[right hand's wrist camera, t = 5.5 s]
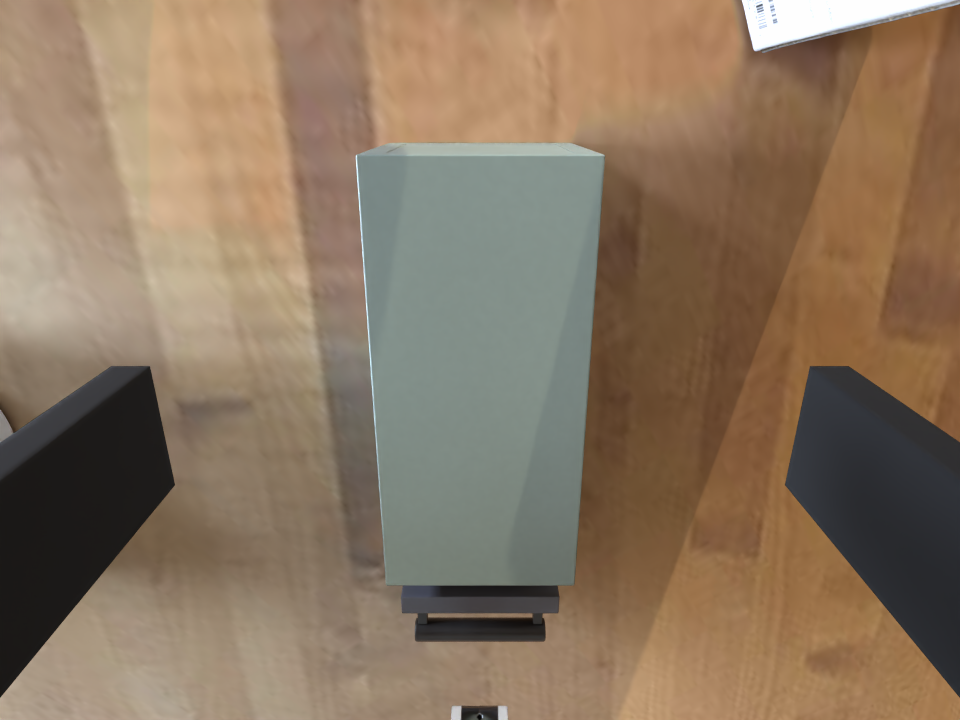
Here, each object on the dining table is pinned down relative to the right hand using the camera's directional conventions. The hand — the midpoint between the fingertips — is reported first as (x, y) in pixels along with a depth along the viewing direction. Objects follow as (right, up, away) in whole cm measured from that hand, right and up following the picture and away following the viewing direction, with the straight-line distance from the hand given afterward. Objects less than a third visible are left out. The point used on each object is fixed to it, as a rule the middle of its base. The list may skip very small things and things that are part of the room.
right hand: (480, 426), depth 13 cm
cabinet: (0, +3, +26) cm, 26 cm away
